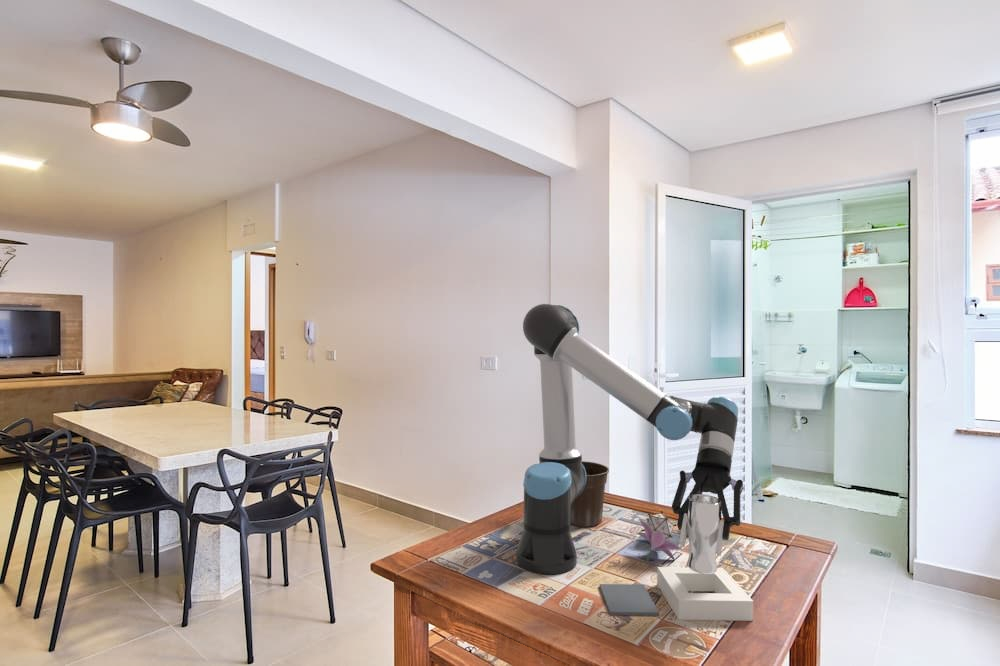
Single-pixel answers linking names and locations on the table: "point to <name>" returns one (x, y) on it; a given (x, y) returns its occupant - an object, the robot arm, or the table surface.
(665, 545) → the lily
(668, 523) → the game die
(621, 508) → the table surface
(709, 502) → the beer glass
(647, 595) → the slate coaster
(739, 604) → the board
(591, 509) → the plant pot
